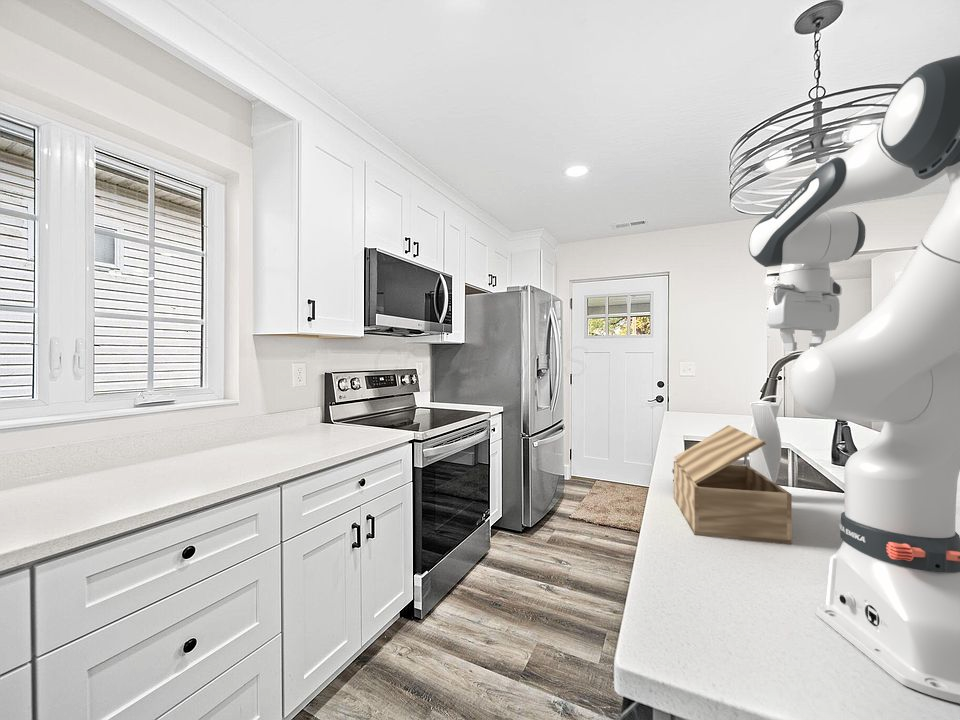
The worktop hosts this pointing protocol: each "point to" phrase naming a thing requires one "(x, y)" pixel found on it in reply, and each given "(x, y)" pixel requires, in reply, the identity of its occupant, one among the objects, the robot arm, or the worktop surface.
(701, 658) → the worktop surface
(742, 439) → the lid flap
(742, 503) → the wooden box
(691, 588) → the worktop surface
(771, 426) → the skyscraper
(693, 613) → the worktop surface
